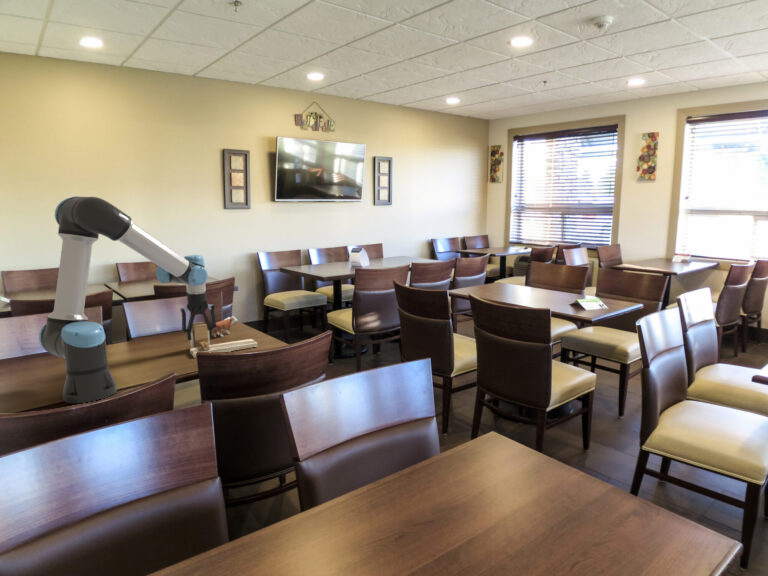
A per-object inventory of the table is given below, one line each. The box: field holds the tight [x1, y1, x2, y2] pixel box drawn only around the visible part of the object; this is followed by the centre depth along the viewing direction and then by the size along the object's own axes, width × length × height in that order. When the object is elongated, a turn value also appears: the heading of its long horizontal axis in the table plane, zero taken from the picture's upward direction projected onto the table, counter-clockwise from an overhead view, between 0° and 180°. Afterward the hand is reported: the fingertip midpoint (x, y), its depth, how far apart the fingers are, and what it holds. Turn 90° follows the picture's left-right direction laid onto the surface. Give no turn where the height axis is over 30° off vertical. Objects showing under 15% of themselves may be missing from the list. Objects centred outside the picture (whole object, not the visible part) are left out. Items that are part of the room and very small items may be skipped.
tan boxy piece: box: [191, 321, 209, 351], centre depth 206 cm, size 14×5×11 cm, turn 33°
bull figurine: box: [212, 315, 238, 338], centre depth 231 cm, size 4×13×8 cm, turn 148°
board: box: [189, 338, 259, 359], centre depth 208 cm, size 8×26×2 cm, turn 123°
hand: (200, 345), depth 210 cm, fingers open, 6 cm apart
